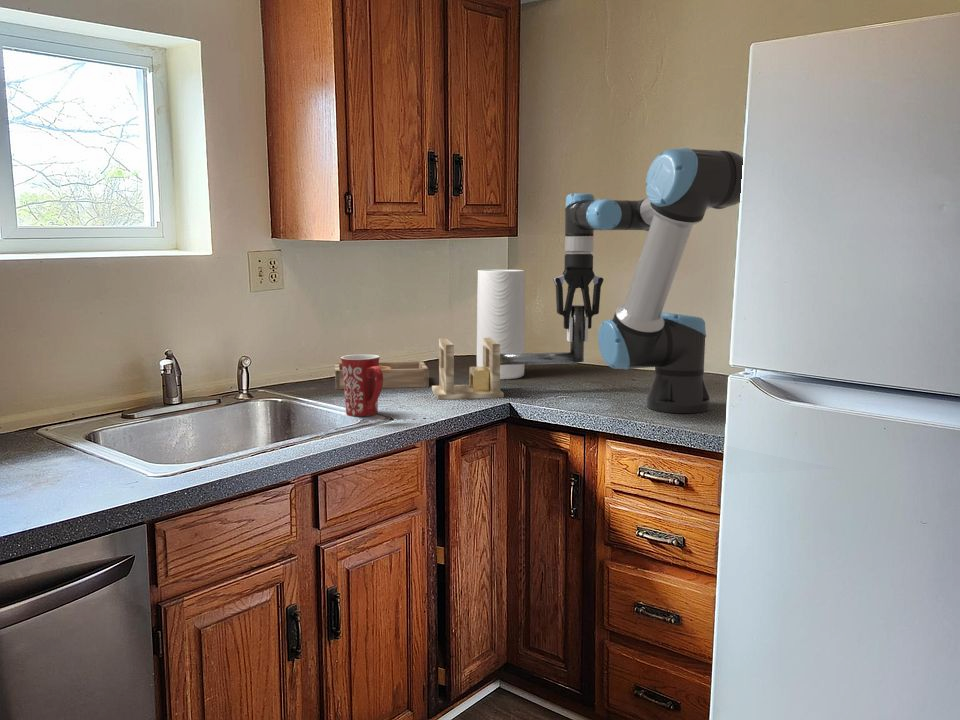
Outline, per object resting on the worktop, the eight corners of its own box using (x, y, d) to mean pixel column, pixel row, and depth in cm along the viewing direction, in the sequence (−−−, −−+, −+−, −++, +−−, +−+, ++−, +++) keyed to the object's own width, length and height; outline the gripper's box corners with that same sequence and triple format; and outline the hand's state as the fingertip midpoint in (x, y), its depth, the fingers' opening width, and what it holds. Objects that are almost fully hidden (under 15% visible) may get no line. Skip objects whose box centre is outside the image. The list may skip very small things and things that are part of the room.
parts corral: (428, 386, 234) (428, 368, 233) (335, 389, 229) (335, 371, 229) (422, 377, 249) (422, 361, 248) (335, 380, 244) (334, 363, 244)
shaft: (581, 362, 229) (582, 305, 227) (585, 364, 226) (586, 306, 224) (488, 364, 225) (488, 306, 223) (490, 366, 221) (490, 307, 219)
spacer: (488, 391, 221) (488, 370, 220) (473, 391, 220) (473, 370, 219) (484, 386, 227) (484, 366, 227) (469, 386, 227) (469, 366, 226)
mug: (334, 412, 198) (333, 356, 196) (368, 408, 204) (367, 352, 202) (362, 421, 188) (361, 362, 186) (396, 416, 194) (395, 358, 192)
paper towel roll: (511, 381, 242) (512, 271, 238) (468, 377, 249) (468, 270, 245) (532, 374, 255) (533, 270, 251) (490, 371, 262) (490, 269, 257)
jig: (493, 388, 232) (493, 337, 230) (503, 397, 218) (504, 343, 216) (431, 390, 229) (431, 338, 227) (438, 399, 215) (438, 345, 213)
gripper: (604, 252, 228) (602, 338, 232) (544, 252, 225) (543, 340, 229) (613, 253, 221) (611, 342, 224) (552, 253, 218) (550, 343, 221)
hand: (577, 340), depth 226 cm, fingers closed on shaft, 4 cm apart
